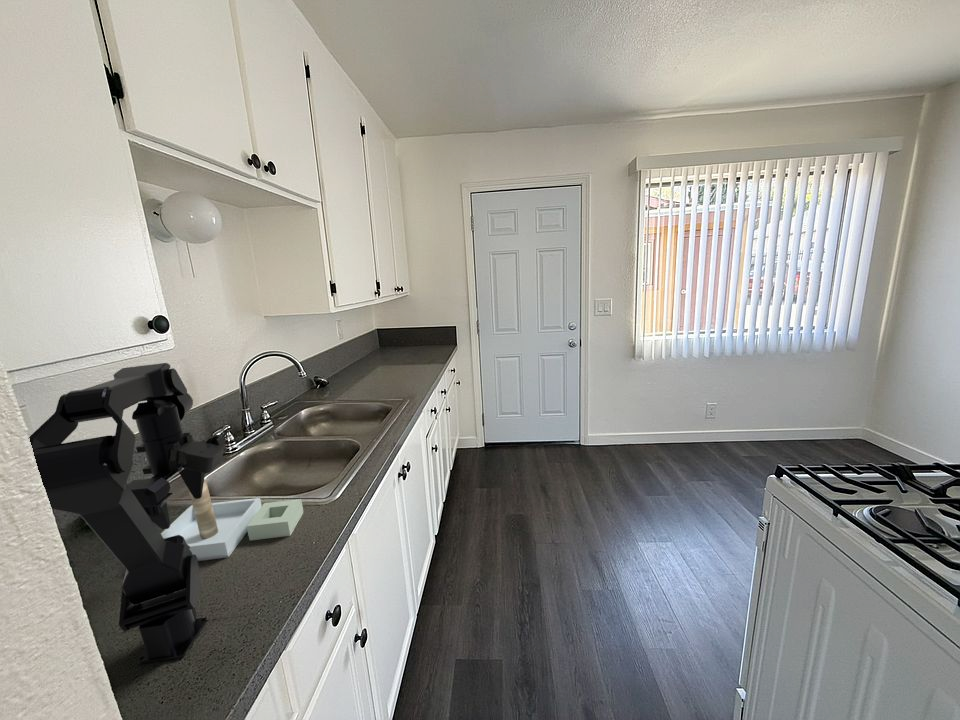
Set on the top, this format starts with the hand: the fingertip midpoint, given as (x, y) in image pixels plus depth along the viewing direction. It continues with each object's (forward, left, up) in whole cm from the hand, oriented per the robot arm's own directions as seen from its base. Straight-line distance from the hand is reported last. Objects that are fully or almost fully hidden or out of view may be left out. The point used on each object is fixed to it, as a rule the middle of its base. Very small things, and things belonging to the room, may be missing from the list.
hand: (183, 512), depth 71 cm
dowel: (+11, +4, -12) cm, 17 cm away
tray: (+11, +4, -13) cm, 17 cm away
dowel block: (+12, -10, -13) cm, 20 cm away
